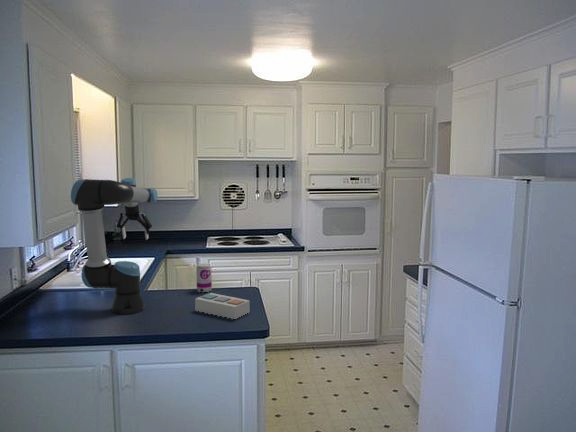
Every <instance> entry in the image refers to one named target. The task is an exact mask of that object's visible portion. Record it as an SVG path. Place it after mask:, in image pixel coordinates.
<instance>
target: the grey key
mask: <svg viewBox="0 0 576 432" xmlns="http://www.w3.org/2000/svg"><path fill="white" fill-rule="evenodd" d="M229 300H230V298H226V297H219V298H216V299H214V301H218V302H223V303H224V302H226V301H229Z"/></svg>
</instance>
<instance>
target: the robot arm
mask: <svg viewBox="0 0 576 432" xmlns="http://www.w3.org/2000/svg"><path fill="white" fill-rule="evenodd" d="M70 191H71V192H70V201H71V202H72V204H73V205H75V206H77V210H78V211H79V212H80V213H81V215H82V222H83V223H82V224H83V231H84V238H85V246H86V247H85V248H86V253H87V260H86V261H85V264H84V265H83V266H82V268H81V274H80V275H81V276H80V277H81V279H82V280H81V281H82V283H83V284H84V285H85V287H87V288H91V289H94V290H95V289H114V290H115V297H114V299H113V304H112V305H111V312H113V313H114V314H118V315H129V314H137V313H139V312H142V311H144V310H145V302H144V300H143V299H144V298H143V297H142V294H141V270H140V265H139V264H137V262H133V261H127V260H121V261H120V260H119V261H116V262H115V263H114V264H112V260H111V258H109V257H108V256H107V255H108V254H107V246H106V238H105V236H106V235H105V227H104V220H103V219H104V218H103V212H102V211H103V210H104V209H105V208H106V207H105V206H110V205H111V206H112V205H121V206H122V205H124V210H125V211H121V212H120V215H119V218H118V222H117V224H116V228H119V230H120V233H121V234H122V239H123V240H125V239H126V237H127V233H126V228H125V225H127V224H126V223H127V222H128V221H129V220H130V221H137V222H138V223H139V224H141V226H143V227H144V237H145V241H147V240H148V239H149V234H150V229H151V228H152V227H153V225H152V224H151V222H150V220H149V218H148V217H147V216H146V212H144V211H143V212H140V208H139V203H147V204H150V203H156V202H157V200H158V191H157V189H156V188H145V187H137V184H136V179H135V178H134V177H133V178H132V177H125V178H122V179H121V181H116V180H111V179H88V178H86V179H78V180H76V181H75V182H74V183H73V185H72V187H71V190H70ZM125 216H126V217H125ZM124 217H125V220H124V221H123V219H124ZM122 221H123V222H122Z"/></svg>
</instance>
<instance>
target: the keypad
mask: <svg viewBox="0 0 576 432" xmlns="http://www.w3.org/2000/svg"><path fill="white" fill-rule="evenodd" d="M208 294H211V295H216V296H217V298H219V297H226V298H230V300H229V301H231V300H234V299H236V300H241V301H244V303H242V304H239V305H233V304H228V303H227V302H229V301H226V302H224V303H223V302H218V301H214V299H216V298H214V299H211V300H209V299H204V298H202V296H205V295H206V294H204V295H202V296H198V297H196V298H195V300H194V302H195V303H194V304H195V305H194V306H195V308H194V310H195V312H198V311H199V312H198V313H202V312H204V313H203V314H207V313H208V314H207V315H211V314H213V316H215V315H217V316H216V317H220V316H222V317H221V318H224V317H227V318H226V319H229V318H231V319H230V320H233V319H236V320H237V318H238V319H240V318H242V317H244V316H246V315H248V314H250V313H249V312H251V311H250V302H251V301H250V300H249V299H244V298H239V297H234V296H228V295H223V294H218V293H214V292H208ZM247 313H248V314H247ZM245 314H246V315H245ZM243 315H244V316H243ZM241 316H242V317H241ZM239 317H240V318H239Z"/></svg>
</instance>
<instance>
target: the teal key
mask: <svg viewBox="0 0 576 432" xmlns="http://www.w3.org/2000/svg"><path fill="white" fill-rule="evenodd" d="M204 295H205V296H204ZM204 295H202V298H204V299H209V300H211V299H214V298H217V296H216V295H211V294H209V293H206V294H204Z"/></svg>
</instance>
